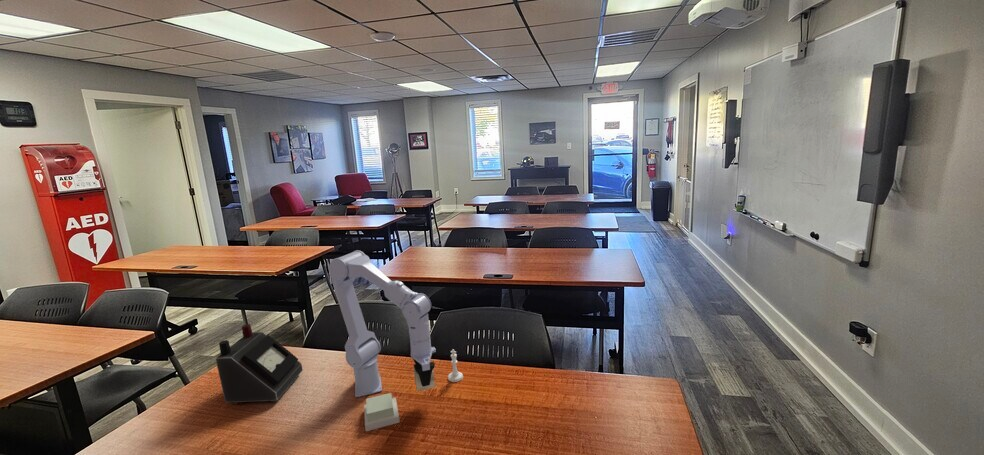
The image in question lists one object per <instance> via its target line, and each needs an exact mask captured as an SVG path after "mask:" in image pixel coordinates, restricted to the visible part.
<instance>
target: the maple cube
mask: <svg viewBox="0 0 984 455" xmlns="http://www.w3.org/2000/svg"><path fill="white" fill-rule="evenodd" d="M413 375H414V384H415V386H416V390H417V392H422V391H425V390H430V389H434V388H436V384H435V372H434V370H433V371H432V374H431V381H430V385H428V386H424V387H423V386H422V384H421V381H420V377H419V375H418V373H417V372H416V370H415V368H414V367H413Z"/></svg>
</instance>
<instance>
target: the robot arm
mask: <svg viewBox="0 0 984 455" xmlns="http://www.w3.org/2000/svg"><path fill="white" fill-rule="evenodd" d="M327 269H328V272H329V275H330V278H331V283H332V285H333V289H334V292H335V296H336V299H337V301H338V305H339V308H340V311H341V314H342V318H343V320H344V324H345V326H346V330H347V333H348V339H347V340H346V342H345V344H344V349H345V360H346V363H347V365H349V367H350V368H352V369H353V375H354V393H355V394H354V396H355V398H359V397H364V396H368V395H373V394H375V393H376V394H377V393H380V392H382V391H383V387H382V386H383V385H382V380H381V379H382V377H381V374H379V365H378V360H377V359H379V353H380V352H381V350H382V346H381V343H380V341H379V340H378V339H377V337H376V335H375V332H374V331H370V330H368V327H367V325H366V322H365V319H364V315H363V312H362V308H361V305H360V303H359V300H358V297H357V293H356V290H355V286H354V282H355V280H356V279H357V278H364V279H365V280H366V281H368V282H370V283H372V284H373V285H375V286H376V287H377V288H379V289H380V290H383V293H384V297H385V298H386V299H387V300H389V301H390V302H392V304H394V305H395V306H397V307H398V308H399V309H400V310H401V312H402V315H403V317H404V319H405V320H406V324H407V326H408V333H409V342H410V357H411V359H412V360H413V362H414V364H413V369H414V368H415V370H416V372H417V373H418V375H419V377H420V381H421V384H422V386H423V387H424V386H428V385H430V381H431V374H432V371H434V368H435V366H436V364H435V361H431V358H432V355H433V354H434V353H436V352H437V351H436V350H437V349H436V348H435V346H432V342H431V332H430V321H429V320H430V318H429V312H430V311H431V308H432V302H431V299H430V298H429V296H427V294H424V293H423V292H422V293H421V292H420V293H418V292H417V291H416V292H415V291H413V290H411V289H410V288H409V287H408V286H406V285H405V284H404V282H402V281H400V280H391V279H390V278H389V277H388V276H386V275H385V274H384V273H383V272H382V271H381V270H380V269H379V268H377V267H376V265H374V264H373V263H372V262H371V259H370V257H369V256H368V255H367V254H365V253H364V251H361V250H358V249H356V250H353V251H352V252H350V253H347V254H345V255H342V256H339V257H336V258H333V259H332V260H331V261H330V263H329V265H328V267H327Z"/></svg>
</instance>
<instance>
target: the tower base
mask: <svg viewBox="0 0 984 455" xmlns="http://www.w3.org/2000/svg"><path fill="white" fill-rule="evenodd" d="M392 403H393V411H394V416H390V417H386V418H382V419H378V420H374V421H370V422H368V420H367V408H366V404H364V405H363V410H364V412H363V414H364V427H365V429H364V430H365V432H369V431H372V430H373V431H374V430H376V429H381V428H384V427H388V426H391V425H395V424H398V423H400V414H399V409H398V403H397V398H396V397H392Z"/></svg>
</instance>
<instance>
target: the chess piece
mask: <svg viewBox="0 0 984 455" xmlns="http://www.w3.org/2000/svg"><path fill="white" fill-rule="evenodd" d="M450 353H451V354H450V358H451V361H450V364H452V372H450V373H449V374H448V375H447V379H448V381H450V382H452V383H457V382H461V381H462V380H463V379H464V375H463V373H462V372H460V371H458V368H457V363H458V362H459V361H458V360H457V357H458V356H457V355H458V354H457V351H455V349H453V348H452V350H450Z"/></svg>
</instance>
